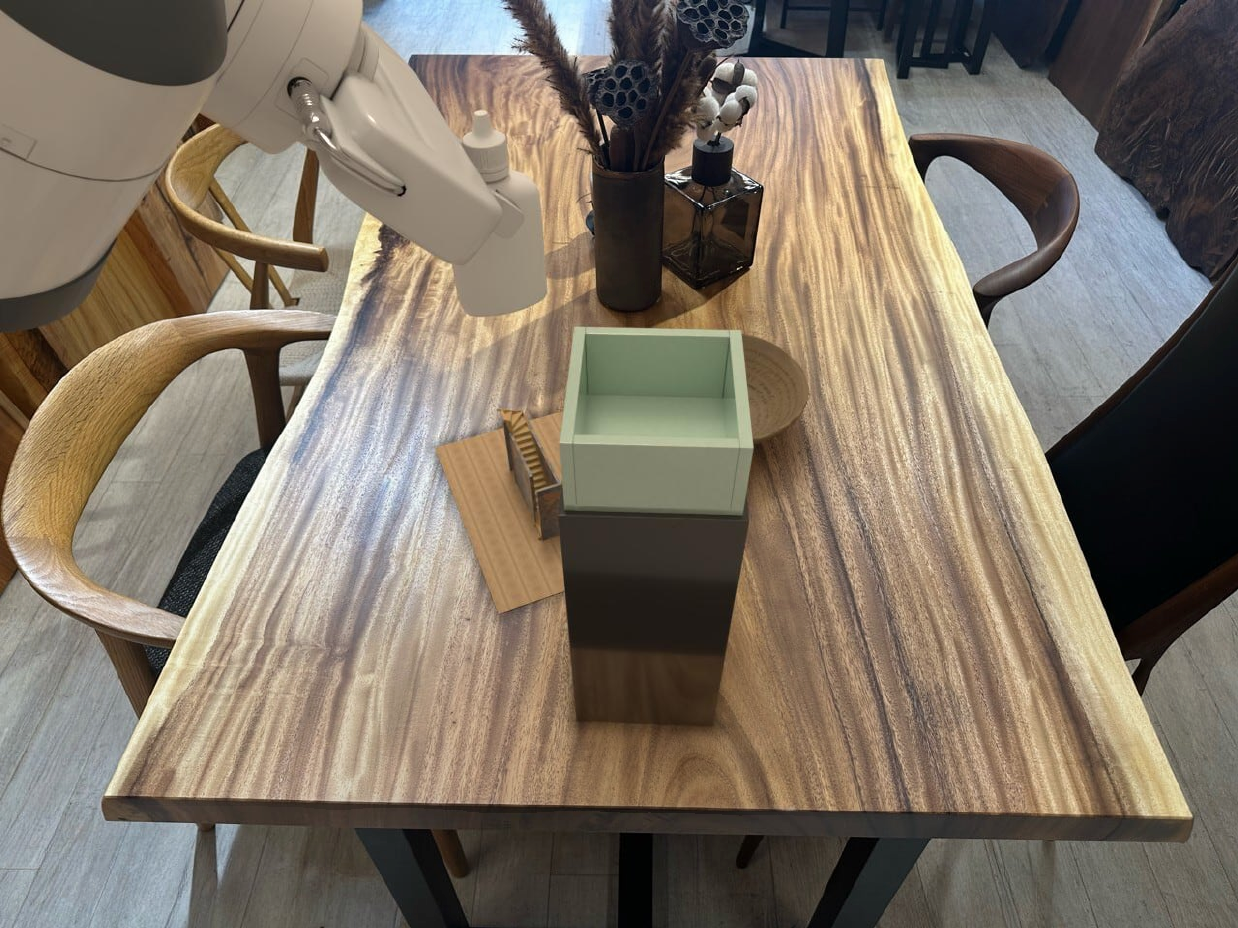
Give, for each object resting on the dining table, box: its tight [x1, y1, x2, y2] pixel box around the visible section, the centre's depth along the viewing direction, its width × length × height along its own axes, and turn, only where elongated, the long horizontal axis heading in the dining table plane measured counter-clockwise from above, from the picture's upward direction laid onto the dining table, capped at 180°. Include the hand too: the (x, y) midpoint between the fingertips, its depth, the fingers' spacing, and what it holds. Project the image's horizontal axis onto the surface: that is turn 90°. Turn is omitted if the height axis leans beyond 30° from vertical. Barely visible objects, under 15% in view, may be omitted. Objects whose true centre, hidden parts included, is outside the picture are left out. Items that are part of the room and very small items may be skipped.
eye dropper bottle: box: [451, 109, 548, 318], centre depth 48 cm, size 4×6×12 cm
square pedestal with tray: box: [558, 326, 755, 727], centre depth 62 cm, size 12×12×34 cm
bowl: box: [741, 332, 810, 446], centre depth 93 cm, size 18×18×8 cm
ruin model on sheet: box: [434, 408, 564, 615], centre depth 85 cm, size 25×16×10 cm, turn 23°
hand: (501, 204), depth 47 cm, fingers closed on eye dropper bottle, 3 cm apart
